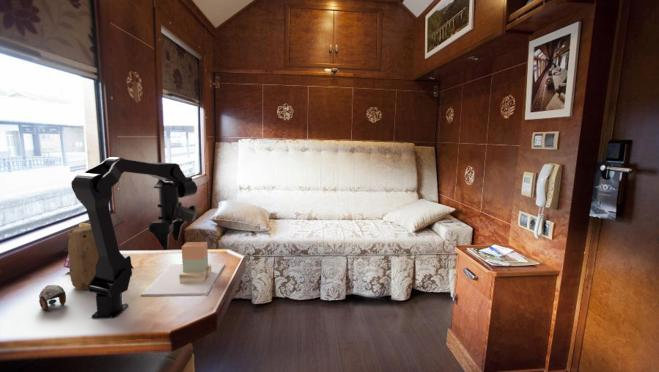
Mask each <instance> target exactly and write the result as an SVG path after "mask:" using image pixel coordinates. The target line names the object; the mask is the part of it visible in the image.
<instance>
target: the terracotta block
mask: <svg viewBox="0 0 659 372" xmlns="http://www.w3.org/2000/svg"><path fill="white" fill-rule="evenodd" d="M207 254H208V255H209V253H208V241H186V242H185V243H184V244H183V245H182V246H181V259H182V260H193V259H204V258H205V257H206V256H207Z"/></svg>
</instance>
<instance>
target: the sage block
mask: <svg viewBox="0 0 659 372" xmlns="http://www.w3.org/2000/svg"><path fill="white" fill-rule="evenodd" d="M181 262H182V264H183V272H204V271H205V270H206V268H207V267H208V264H209V253H208V254H207V256H206V257H205V258H204V259H193V260H182V261H181Z"/></svg>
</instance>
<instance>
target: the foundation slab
mask: <svg viewBox="0 0 659 372" xmlns="http://www.w3.org/2000/svg"><path fill="white" fill-rule="evenodd" d="M211 264H212V263H208V267H207V268H206V270H205V271H204V272H183V271H182V272H181V273H180V274H179V279H180V283H204V282H205V281H206V279H207V278H208V276H209V275H210V273H211Z"/></svg>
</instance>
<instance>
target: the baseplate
mask: <svg viewBox="0 0 659 372" xmlns="http://www.w3.org/2000/svg"><path fill="white" fill-rule="evenodd" d="M210 264H211V273H210V275H209V276H208V278H207V279H206V281H205V282H204V283H180V279H179V274H180V273H181V272H182V271H183V263H181V264H180V263H174V264H173V263H170V265H168V266H167V267H166V269H165V270H164V271H163V272H162V273H161V274H160V275H158V277H157V278H156V279H155V280H153V282H152V283H150V285H149V286H147V288H145V290H143V291H142V293H140V296H141V297H159V296H160V297H161V296H162V297H164V296H165V297H166V296H170V297H171V296H172V297H173V296H207V295H208V294H209V292H210V290H211V289H212V287H213V286H214V283H215V282H216V280H217V279H218V277H219V275H220V274H221V272H222V270H223V268H224V267H225V263H210Z"/></svg>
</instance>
